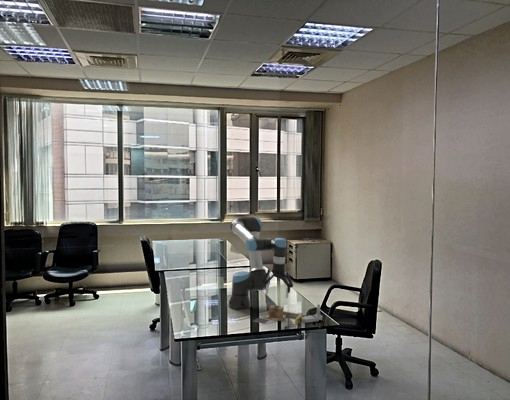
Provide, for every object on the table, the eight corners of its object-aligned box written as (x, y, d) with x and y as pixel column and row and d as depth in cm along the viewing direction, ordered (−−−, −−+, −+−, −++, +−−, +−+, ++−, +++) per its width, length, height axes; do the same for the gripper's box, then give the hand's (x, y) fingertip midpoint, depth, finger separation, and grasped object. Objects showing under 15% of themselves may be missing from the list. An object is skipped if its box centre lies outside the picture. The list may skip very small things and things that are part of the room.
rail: (263, 318, 254) (263, 312, 254) (269, 313, 265) (269, 308, 264) (296, 324, 246) (297, 319, 246) (301, 319, 256) (302, 314, 256)
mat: (252, 322, 246) (252, 321, 246) (257, 318, 254) (257, 317, 254) (264, 324, 243) (264, 323, 243) (269, 320, 251) (269, 320, 251)
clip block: (268, 316, 255) (269, 306, 254) (271, 314, 259) (271, 304, 259) (280, 318, 251) (281, 308, 251) (283, 316, 256) (283, 306, 256)
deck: (263, 318, 254) (263, 316, 254) (269, 313, 265) (269, 311, 265) (294, 324, 246) (295, 322, 246) (300, 319, 256) (300, 317, 256)
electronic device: (299, 305, 254) (319, 303, 261) (299, 321, 255) (319, 318, 261) (304, 308, 249) (324, 305, 256) (303, 324, 250) (323, 320, 256)
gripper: (258, 260, 256) (256, 293, 257) (296, 266, 246) (293, 300, 247) (262, 259, 263) (260, 290, 264) (299, 264, 253) (297, 297, 254)
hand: (276, 295), depth 256 cm, fingers open, 13 cm apart
